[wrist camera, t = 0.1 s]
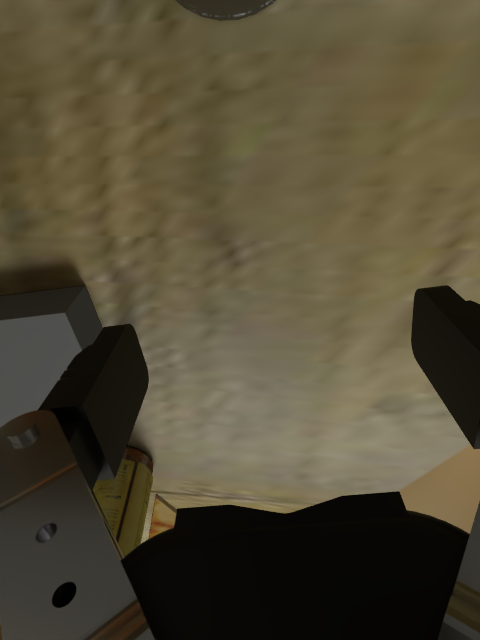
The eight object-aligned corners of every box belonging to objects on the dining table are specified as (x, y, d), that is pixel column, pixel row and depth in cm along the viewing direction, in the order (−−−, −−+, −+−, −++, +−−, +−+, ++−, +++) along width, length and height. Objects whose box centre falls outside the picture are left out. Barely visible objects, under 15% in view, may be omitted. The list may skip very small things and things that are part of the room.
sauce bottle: (87, 464, 42) (-20, 727, 25) (115, 433, 39) (16, 705, 22) (139, 488, 44) (74, 745, 27) (170, 460, 41) (117, 727, 25)
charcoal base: (-82, 306, 31) (-121, 334, 28) (85, 285, 30) (64, 312, 27) (0, 426, 39) (-23, 460, 35) (136, 413, 38) (126, 447, 34)
